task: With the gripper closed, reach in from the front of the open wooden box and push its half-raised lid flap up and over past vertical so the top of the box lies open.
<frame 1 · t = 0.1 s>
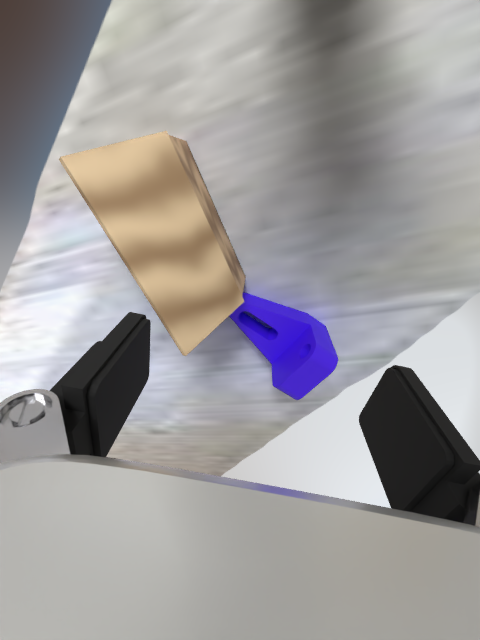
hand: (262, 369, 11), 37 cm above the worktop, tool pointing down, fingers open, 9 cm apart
lid flap: (175, 248, 31), point 15 cm above the worktop, hinge at 55.0°
bracket: (270, 320, 52), on the worktop
open wooden box: (186, 231, 45), on the worktop
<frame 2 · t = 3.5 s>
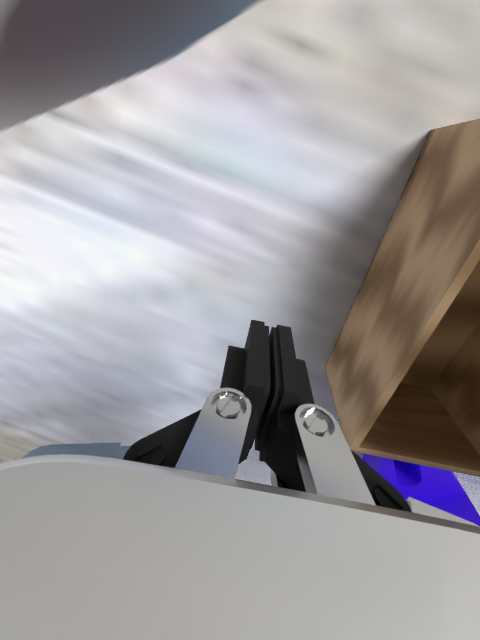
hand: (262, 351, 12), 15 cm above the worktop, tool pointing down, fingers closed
bracket: (396, 444, 35), on the worktop
open wooden box: (430, 289, 25), on the worktop
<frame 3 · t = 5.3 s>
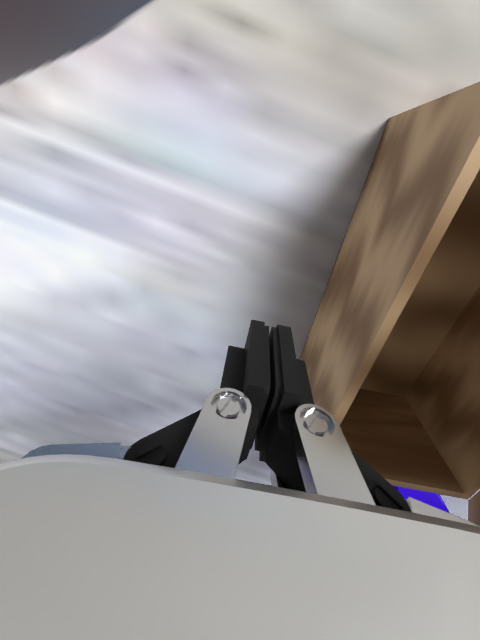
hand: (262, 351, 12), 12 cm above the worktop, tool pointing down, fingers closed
bracket: (374, 454, 34), on the worktop
open wooden box: (398, 292, 23), on the worktop
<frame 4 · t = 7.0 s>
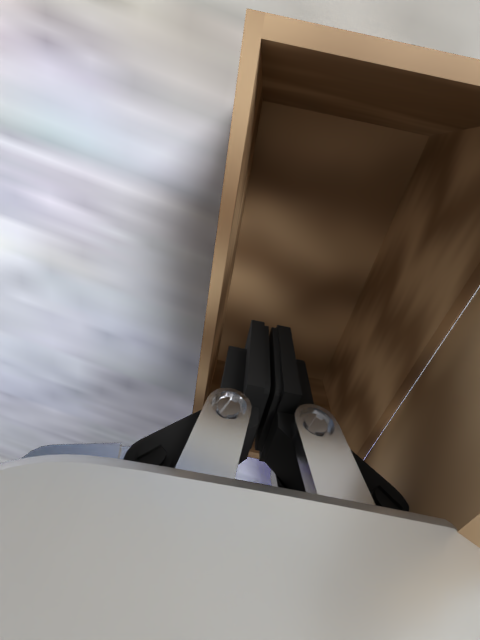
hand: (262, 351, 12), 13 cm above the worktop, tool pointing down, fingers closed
lid flap: (426, 428, 10), point 15 cm above the worktop, hinge at 56.0°, touching gripper
open wooden box: (298, 270, 23), on the worktop
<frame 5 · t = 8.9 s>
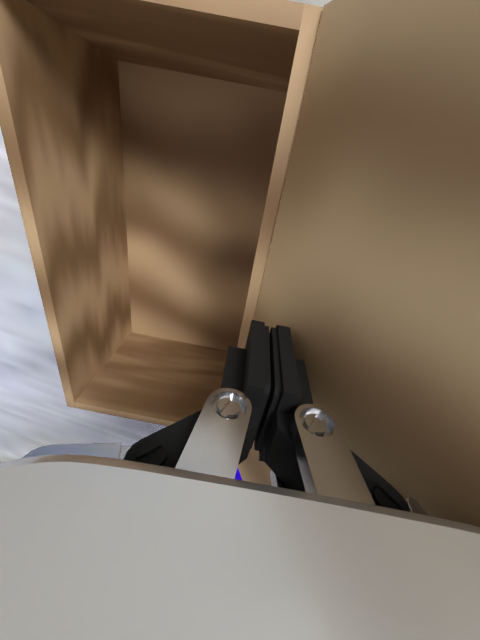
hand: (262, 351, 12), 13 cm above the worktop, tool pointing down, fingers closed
lid flap: (330, 392, 10), point 15 cm above the worktop, hinge at 116.6°, touching gripper
open wooden box: (192, 239, 23), on the worktop
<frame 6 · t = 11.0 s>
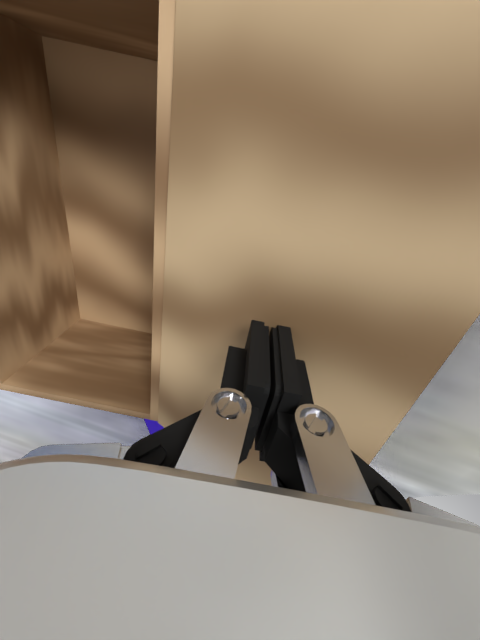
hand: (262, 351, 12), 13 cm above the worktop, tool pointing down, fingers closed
lid flap: (266, 331, 12), point 13 cm above the worktop, hinge at 152.8°, touching gripper
open wooden box: (133, 223, 23), on the worktop
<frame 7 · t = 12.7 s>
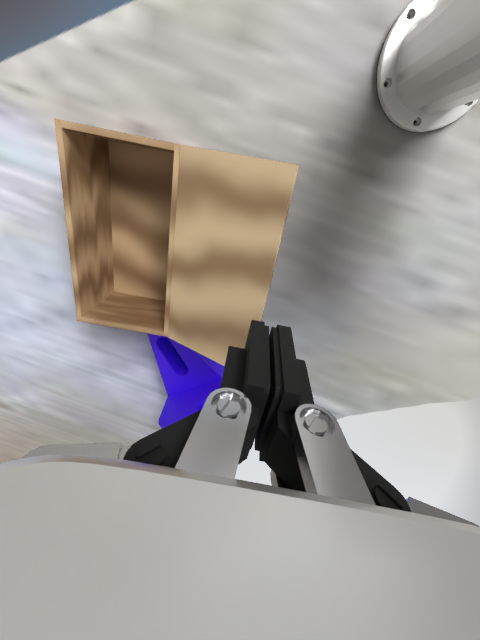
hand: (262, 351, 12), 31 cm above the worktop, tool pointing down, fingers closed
lid flap: (217, 271, 29), point 13 cm above the worktop, hinge at 153.1°
bracket: (187, 353, 50), on the worktop
open wooden box: (150, 231, 40), on the worktop
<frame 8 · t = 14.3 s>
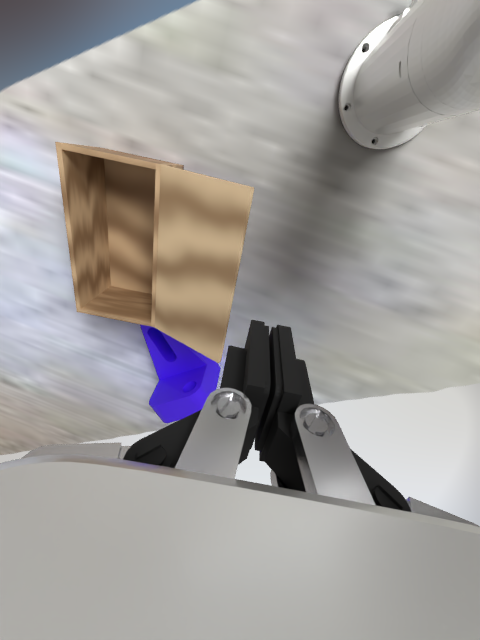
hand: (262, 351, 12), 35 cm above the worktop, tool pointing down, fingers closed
lid flap: (193, 272, 34), point 13 cm above the worktop, hinge at 153.1°
bracket: (177, 342, 55), on the worktop
open wooden box: (142, 233, 45), on the worktop
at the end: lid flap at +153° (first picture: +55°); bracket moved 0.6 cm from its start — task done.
